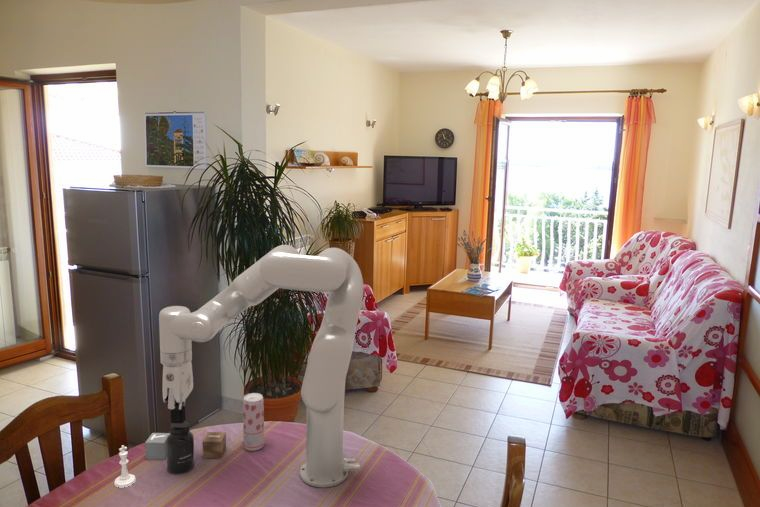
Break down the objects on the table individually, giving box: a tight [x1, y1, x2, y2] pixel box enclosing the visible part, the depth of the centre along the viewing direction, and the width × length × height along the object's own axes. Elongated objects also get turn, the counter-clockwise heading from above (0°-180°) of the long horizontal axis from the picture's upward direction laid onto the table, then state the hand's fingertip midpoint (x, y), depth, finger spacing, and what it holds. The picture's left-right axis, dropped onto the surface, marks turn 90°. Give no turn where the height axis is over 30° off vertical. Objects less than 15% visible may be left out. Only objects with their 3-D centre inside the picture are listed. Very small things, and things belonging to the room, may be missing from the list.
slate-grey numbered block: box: [144, 432, 170, 460], centre depth 150 cm, size 5×5×5 cm
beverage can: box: [242, 392, 265, 452], centre depth 155 cm, size 6×6×15 cm
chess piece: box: [114, 444, 137, 489], centre depth 137 cm, size 5×5×10 cm
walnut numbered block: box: [202, 431, 227, 459], centre depth 152 cm, size 5×5×5 cm
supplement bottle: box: [166, 420, 195, 475], centre depth 144 cm, size 7×7×12 cm
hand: (178, 421), depth 143 cm, fingers closed
